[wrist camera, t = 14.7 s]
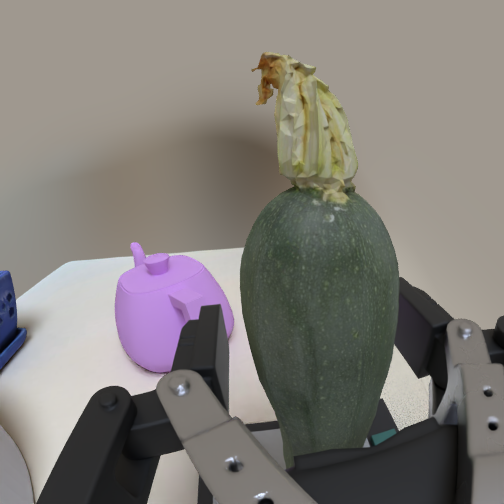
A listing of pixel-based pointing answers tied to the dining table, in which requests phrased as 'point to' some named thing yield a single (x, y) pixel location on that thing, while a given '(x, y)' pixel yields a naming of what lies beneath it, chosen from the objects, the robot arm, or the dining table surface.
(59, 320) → the dining table surface
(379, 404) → the scale
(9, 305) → the flower pot
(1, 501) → the container
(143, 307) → the teapot
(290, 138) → the vegetable
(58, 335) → the dining table surface
